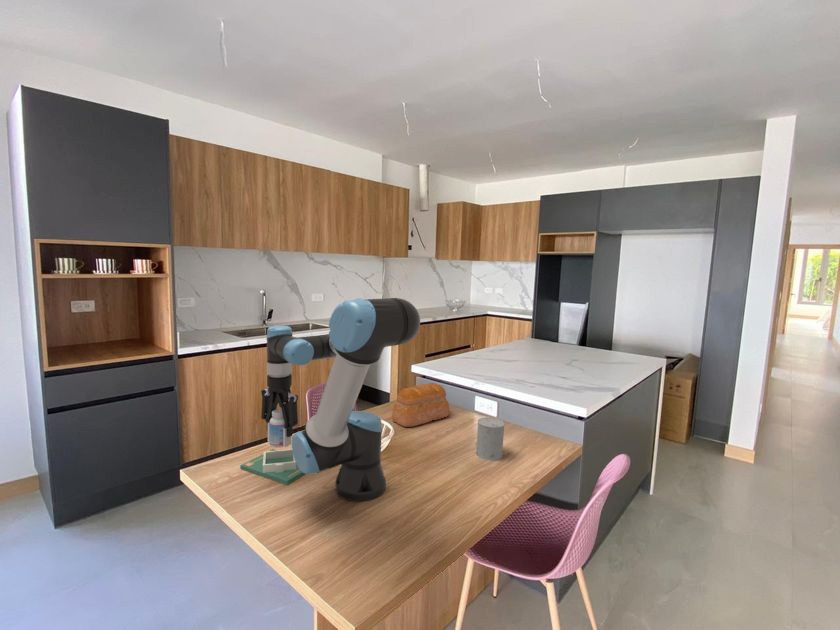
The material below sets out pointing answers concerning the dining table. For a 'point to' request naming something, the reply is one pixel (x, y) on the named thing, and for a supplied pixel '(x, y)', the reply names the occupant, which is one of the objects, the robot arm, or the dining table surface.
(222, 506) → the dining table surface
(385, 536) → the dining table surface
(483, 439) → the grey concrete cylinder
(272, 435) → the pill bottle
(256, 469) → the board
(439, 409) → the bread
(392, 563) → the dining table surface
